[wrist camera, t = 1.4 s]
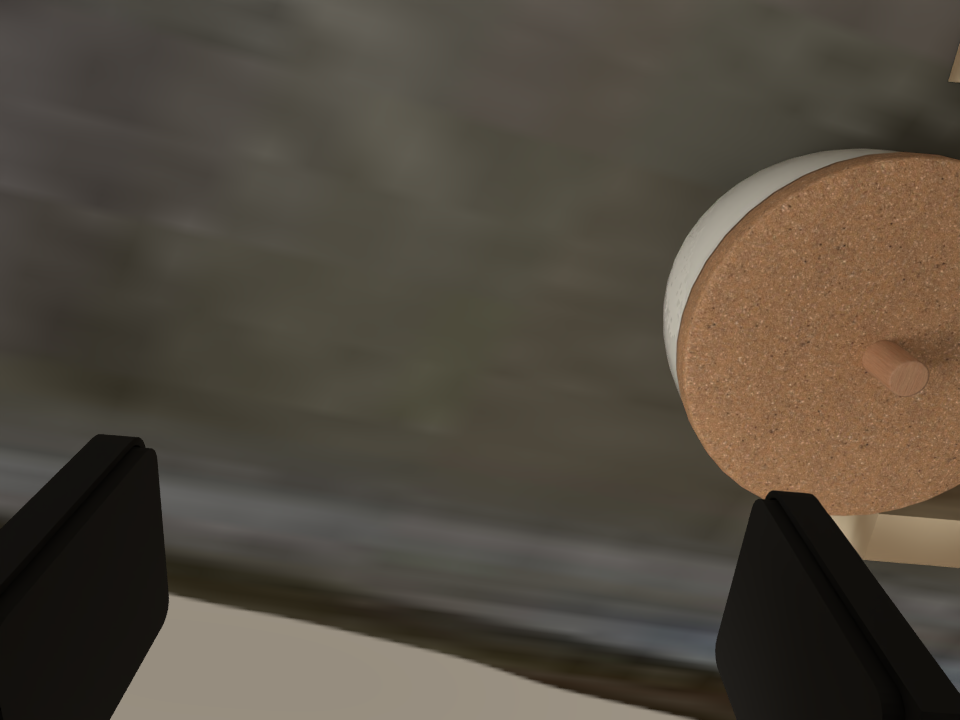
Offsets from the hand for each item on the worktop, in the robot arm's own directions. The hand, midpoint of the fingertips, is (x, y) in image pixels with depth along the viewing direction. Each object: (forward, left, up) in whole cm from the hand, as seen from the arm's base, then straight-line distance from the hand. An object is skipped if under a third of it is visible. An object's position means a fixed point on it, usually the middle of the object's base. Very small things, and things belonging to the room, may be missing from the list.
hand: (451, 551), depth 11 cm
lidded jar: (0, +11, -18) cm, 22 cm away
